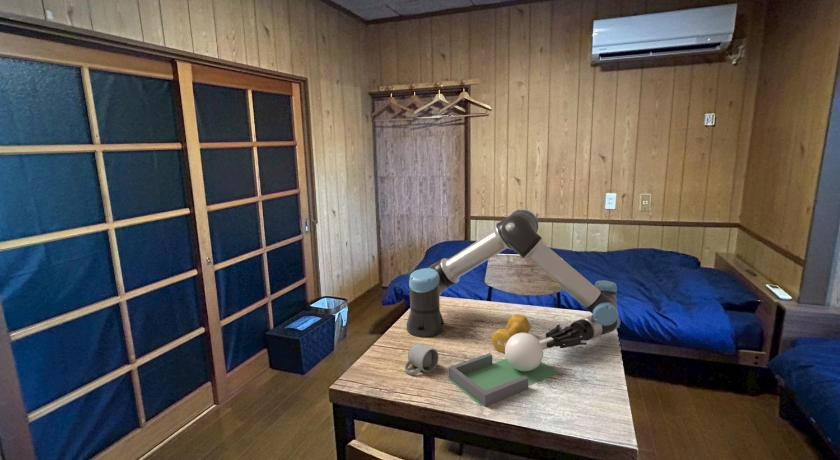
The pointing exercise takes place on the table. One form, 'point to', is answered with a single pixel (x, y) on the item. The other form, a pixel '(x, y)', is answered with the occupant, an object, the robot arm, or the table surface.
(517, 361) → the ball
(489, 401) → the grey open tray
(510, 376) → the green mat
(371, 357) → the table surface
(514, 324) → the dumbbell
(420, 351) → the ceramic mug
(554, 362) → the table surface
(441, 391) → the table surface
